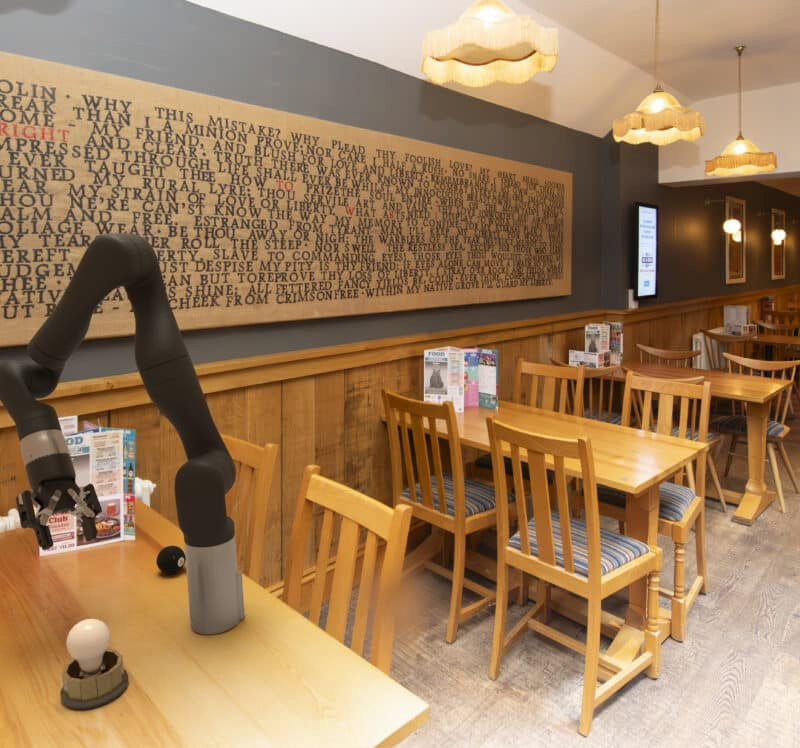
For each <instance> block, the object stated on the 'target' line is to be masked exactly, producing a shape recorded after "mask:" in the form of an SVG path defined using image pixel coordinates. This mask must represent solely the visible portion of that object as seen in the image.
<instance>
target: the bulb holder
mask: <svg viewBox="0 0 800 748" xmlns="http://www.w3.org/2000/svg"><path fill="white" fill-rule="evenodd" d="M123 658H124V657H123V655H122V654H121V653H120V652H119V651H118V650H117V649H113V648H112V649H110V648H107V649H106V651H105V653H104V654H103V658H102V663H101V675H99V676H97V677H93V678H87V679H83V672H82V669H81V668H80V666H79V663H78V662H77V661H76V660H75V659H74V658H73V657H72V659H71V660H70V661H68V662H67V663H66V664H65V665H64V668H63V670H62V673H61V678H62V684H63V686H62V688H61V689H60V694H59V695H60V700H61V701H60V702H61V704H62V705H63V707H64V708H67V709H68V710H71V711H89V710H95V709H98V708H101V707H103V706H105V705H108V704H110V703H112V702H114V701H115V700H117V699H119V698H120V696H122V695H123V694H124V693H125V691H127V688H128V686H129V682H130V681H129V680H130V679H129V673H128V671H127V670H126V669H125V668H124V659H123Z"/></svg>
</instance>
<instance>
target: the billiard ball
mask: <svg viewBox="0 0 800 748" xmlns="http://www.w3.org/2000/svg"><path fill="white" fill-rule="evenodd" d="M156 565H157V568H158V570H159V571H161V573H164V574H166V575H173V574H176V573H178V572H180V571H181V570H182V569H183V568H184V566H185V565H186V558H185V550H184V549H182V548H181V547H180V546H177V545H168V546H165V547H163V548H162V549H160V551H159V552H158V553H157V556H156Z"/></svg>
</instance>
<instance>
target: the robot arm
mask: <svg viewBox="0 0 800 748" xmlns="http://www.w3.org/2000/svg"><path fill="white" fill-rule="evenodd" d="M118 287H119V288H120V287H123V289H124V290H125V293H126V296H127V299H128V300H129V303H130V305H131V306H130V307H131V309H132V312H133V315H134V322H135V323H134V324H135V326H134V327H135V330H134V360H135V364H136V368H137V370H138V373H139V376H140V378H141V382H142V384H143V386H144V389H145V391H146V393H147V394H148V397H149V398H150V400H151V401H152V403H153V404H154V406H156V407H155V408H157V409H158V410H159V412H160V413H161V414H162V415H163V416H164V417H165V418H166V420H168V422H169V423H170V424H171V425H172V426H173V428H174V429H175V431H176V432H177V434H178V437H179V438H180V441H181V443H182V445H183V448H184V451H185V455H186V460H187V461H186V462H184V464H182V465H181V466H180V467H179V469H178V470H177V471H176V474H175V478H174V497H175V498H174V499H175V507H176V515H177V516H176V517H177V523H178V526H179V529H180V531H181V532H182V535H183V543H184V545H183V546H184V553H185V558H186V561H185V569H186V582H187V595H188V607H189V608H188V609H189V620H190V629H192V631H193V632H194V633H198V634H201V635H215V634H221V633H224V632H227V631H229V630H231V629H233V628H234V627H235V626H237V625H238V624H239V623H240V621H241V620H243V619H245V617H246V614H245V603H244V602H245V600H244V599H245V598H244V586H243V585H244V583H243V572H242V571H241V570H239V569H238V559H237V558H238V557H237V545H236V543H237V542H236V530H235V529H236V527H235V521H234V520H233V518H231V517H230V516H228V513H227V503H226V494H227V493H229V491H230V490H231V489H233V486H234V485H235V482H236V479H237V469H236V465H235V463H234V460H233V458H232V455H231V454H230V451H229V450H228V448H227V445H226V443H225V441H224V440H223V438H222V436H221V434H220V431H219V430H218V428H217V425H216V423H215V421H214V418H213V416H212V414H211V409H210V408H209V405H208V402H207V399H206V396H205V394H204V392H203V391H204V390H203V389H202V386H201V383H200V380H199V378H198V374H197V371H196V368H195V366H194V364H193V361H192V358H191V355H190V353H189V351H188V348H187V346H186V344H185V341H184V339H183V335H182V334H181V331H180V330H181V329H180V327H179V325H178V323H177V319H176V317H175V314H174V311H173V309H172V306H171V304H170V300H169V297H168V294H167V289H166V285H165V281H164V277H163V274H162V270H161V266H160V262H159V259H158V256H157V253H156V251H155V249H154V248H153V246H152V244H151V243H150V241H148V240H147V239H146V238H145V237H143V236H142V235H139V234H136V233H129V232H128V233H123V232H121V233H116V232H115V233H114V232H109V233H104V234H101V235H98V236H97V237H95V238H94V239H93V240H92V241H91V242H90V243H89V245H88V246H87V248H86V250H85V252H84V254H83V255H82V257H81V259H80V260H79V263H78V265H77V268H76V269H75V271H74V274H73V275H72V277H71V279H70V280H69V283H68V285H67V286H66V288H65V291H64V292H63V294H62V296H61V298H60V299H59V301H58V302H57V304H56V306H55V308H54V309H53V310H52V312H51V313H50V314H49V315H48V317H47V318H46V320H45V321H44V322H43V323H42V324H41V326H40V327H39V328H38V330H37V331H36V333H35V334H34V335H33V336H32V338H31V339H30V340H29V342H28V344H27V347H26V351H27V354H28V356H29V358H30V359H32V360H33V361H26V360H25V361H24V360H15V359H11V360H10V359H9V360H5V361H2V362H0V402H1V404H2V405H3V407H4V408H5V409H6V411H7V413H8V415H9V416H10V418H11V420H13V422H14V425H15V428H16V433H17V436H18V440H19V444H20V454H21V456H22V457H21V458H22V462H23V465H24V468H25V469H24V470H25V472H26V476H27V480H28V484H29V487H30V489H31V490H32V491H30V490H28V489H26V490H24V491H23V492H21V493H19V494H18V495H16V496H15V501H16V507H17V511H18V517H19V521H20V526H21V528H22V529H27V528H28V529H32V530H33V531H34V533H35V537H36V540H37V545H38V546H39V548H41V549H42V551H46V550H50V549H51V548H53V547H54V540H53V536H52V533H51V529H50V525H49V524H48V521H49V520H50V519H49V518H50V517H51V516H53V515H56V514H58V513H59V514H66V513H69V514H70V515H71V516H74V517H76V518H77V519H78V520H79V521H81V528H82V532H83V535H84V538H85V542H87V543H89V542H92V541H93V540H96V539H97V536H98V530H97V525H96V522H95V517H96V516H98V515H99V514H101V513H102V512H103V508H102V506H101V503H100V500H99V497H98V494H97V492H96V489H95V486H94V484H93V483H89V484H88V483H87V484H86V485H84V486H79V485H78V484H77V483H76V478H77V474H76V473H77V472H76V470H75V467H74V463H73V459H72V456H71V453H70V450H69V446H68V442H67V440H66V438H65V436H64V434H63V430H62V427H61V423H60V419H59V417H58V413H57V410H56V409H55V408H54V406H52V405H51V404H48V403H45V402H42V401H39V399H45V398H47V397H49V396H50V395H51V394H53V393H54V391H56V389H57V387H58V385H59V382H60V379H61V377H62V373H63V371H64V368H65V365H66V364H67V361H68V360H69V359H70V358H71V356H72V355H73V354H74V352H75V351H76V350H77V349H78V348H79V346H80V345H81V344H82V342H83V341H84V339H85V337H86V336H87V333H88V331H89V329H90V325H91V320H92V317H93V314H94V312H95V310H96V309H97V308H98V306H99V305H100V303H101V302H102V301H103V300H104V299H105V298H107V296H109V294H111V292H114V290H115V289H117V288H118ZM34 502H35V503H36V504H37V505H38V506H39V507H38V509H37V512H35V507H34Z"/></svg>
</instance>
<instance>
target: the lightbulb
mask: <svg viewBox="0 0 800 748" xmlns="http://www.w3.org/2000/svg"><path fill="white" fill-rule="evenodd" d="M110 642H111V631H110V629H109V627H108V625H107V624H106V622H104V621H102V620H100V619H97V618H85V619H83V620H80V621H78V622H77V623H76V624H75V625H74V626H73V627H72V628H71V629H70V631H69V633H68V634H67V637H66V642H65V643H66V649H67V652H68V654H69V655H70V656H71V657H72V659H73V658H74V659H75V660H76V661H77V662H78V663H79V666H80V668H81V669H82V672H83V679H87V678H93V677H97V676H99V675H101V663H102V658H103V654H104V653H105V651H106V649H108V648H109V645H110Z"/></svg>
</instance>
